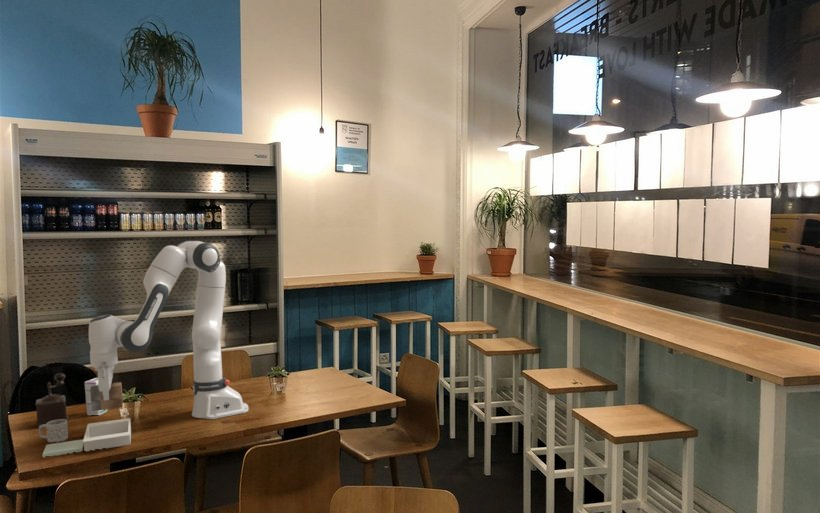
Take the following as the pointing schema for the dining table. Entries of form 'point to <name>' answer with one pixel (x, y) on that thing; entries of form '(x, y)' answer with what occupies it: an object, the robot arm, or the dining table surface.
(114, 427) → the tray
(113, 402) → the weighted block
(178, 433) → the dining table surface
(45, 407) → the pepper mill
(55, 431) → the mug
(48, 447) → the green board
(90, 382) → the syrup box
